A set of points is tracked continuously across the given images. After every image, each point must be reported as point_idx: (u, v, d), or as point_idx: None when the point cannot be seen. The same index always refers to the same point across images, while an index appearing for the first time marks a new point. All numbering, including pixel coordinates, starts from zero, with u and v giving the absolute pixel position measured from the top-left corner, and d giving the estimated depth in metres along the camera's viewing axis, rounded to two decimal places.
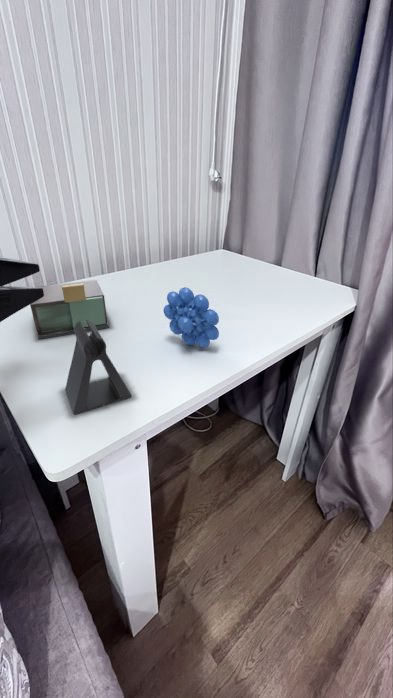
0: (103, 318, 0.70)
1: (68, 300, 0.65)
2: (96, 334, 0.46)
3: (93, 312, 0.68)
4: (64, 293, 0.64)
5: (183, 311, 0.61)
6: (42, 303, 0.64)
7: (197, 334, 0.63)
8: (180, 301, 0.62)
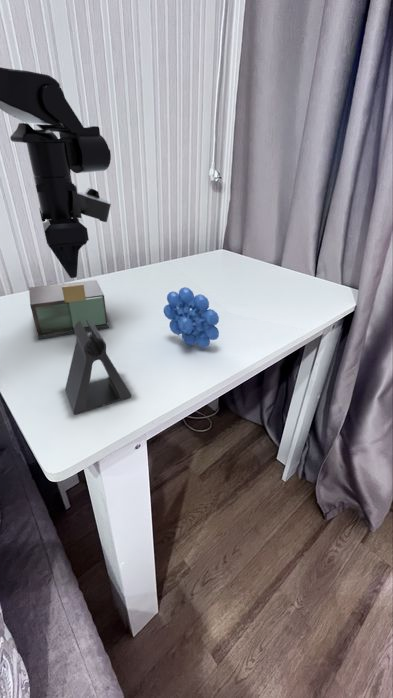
0: (103, 318, 0.70)
1: (68, 300, 0.65)
2: (96, 334, 0.46)
3: (93, 312, 0.68)
4: (64, 293, 0.64)
5: (183, 311, 0.61)
6: (42, 303, 0.64)
7: (197, 334, 0.63)
8: (180, 301, 0.62)
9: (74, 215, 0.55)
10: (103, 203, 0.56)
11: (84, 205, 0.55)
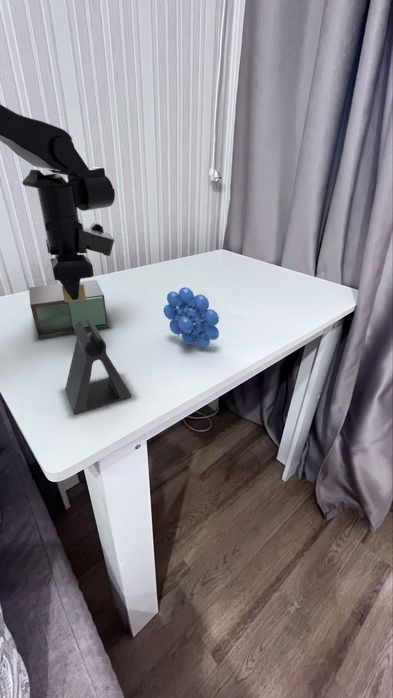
0: (103, 318, 0.70)
1: (68, 300, 0.65)
2: (96, 334, 0.46)
3: (93, 312, 0.68)
4: (64, 293, 0.64)
5: (183, 311, 0.61)
6: (42, 303, 0.64)
7: (197, 334, 0.63)
8: (180, 301, 0.62)
9: (80, 251, 0.59)
10: (107, 239, 0.60)
11: (89, 241, 0.59)
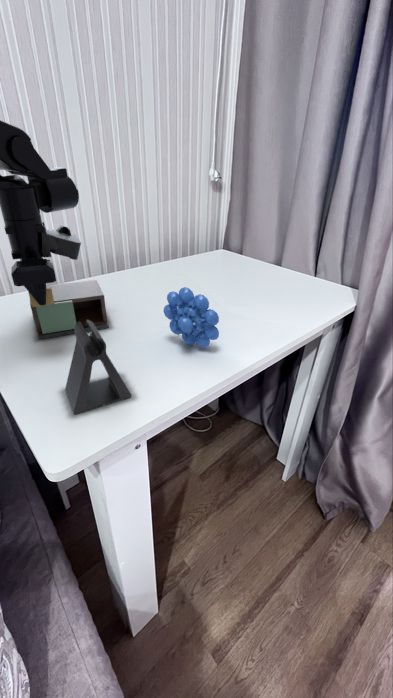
0: (74, 323, 0.68)
1: (35, 304, 0.63)
2: (96, 334, 0.46)
3: (63, 316, 0.66)
4: (31, 297, 0.62)
5: (183, 311, 0.61)
6: None
7: (197, 334, 0.63)
8: (180, 301, 0.62)
9: (44, 254, 0.57)
10: (73, 242, 0.58)
11: (54, 245, 0.57)
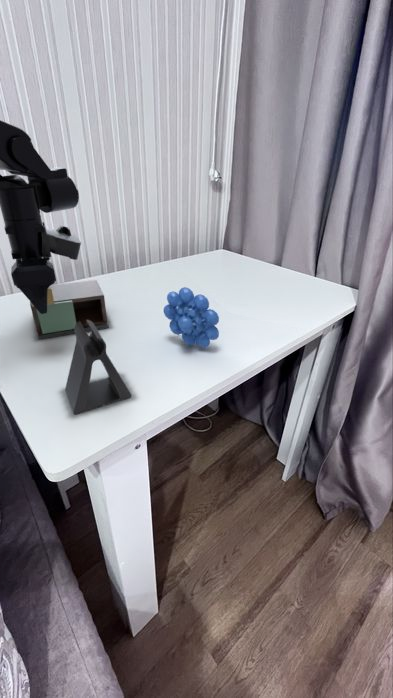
0: (74, 323, 0.68)
1: None
2: (96, 334, 0.46)
3: (63, 316, 0.66)
4: None
5: (183, 311, 0.61)
6: None
7: (197, 334, 0.63)
8: (180, 301, 0.62)
9: (44, 254, 0.57)
10: (73, 242, 0.58)
11: (54, 245, 0.57)
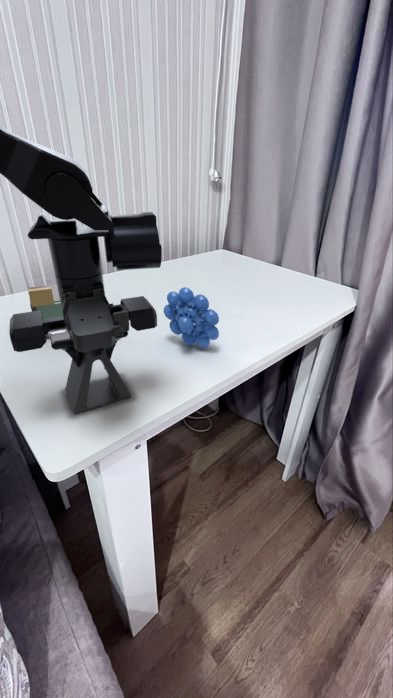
0: None
1: (35, 304, 0.63)
2: None
3: None
4: (31, 297, 0.62)
5: (183, 311, 0.61)
6: None
7: (197, 334, 0.63)
8: (180, 301, 0.62)
9: None
10: (71, 329, 0.38)
11: (66, 318, 0.40)
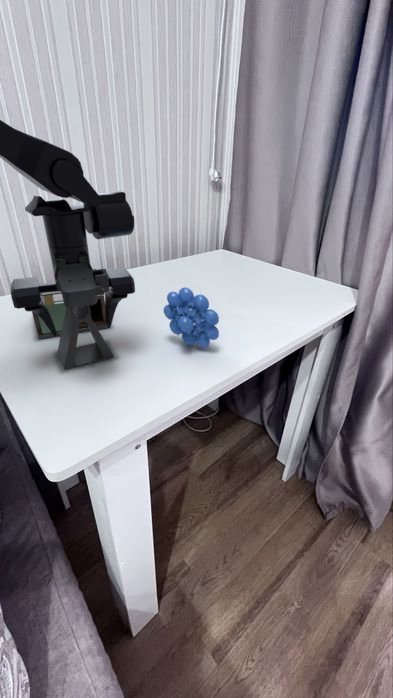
0: None
1: None
2: None
3: (63, 316, 0.66)
4: None
5: (183, 311, 0.61)
6: None
7: (197, 334, 0.63)
8: (180, 301, 0.62)
9: (56, 285, 0.51)
10: (61, 287, 0.47)
11: (57, 280, 0.49)
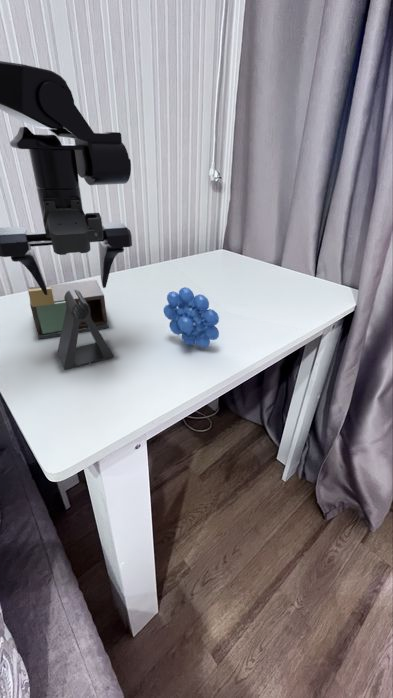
0: None
1: (35, 304, 0.63)
2: (82, 300, 0.55)
3: (63, 316, 0.66)
4: (31, 297, 0.62)
5: (183, 311, 0.61)
6: None
7: (197, 334, 0.63)
8: (180, 301, 0.62)
9: (45, 233, 0.47)
10: (49, 230, 0.43)
11: (46, 225, 0.45)
